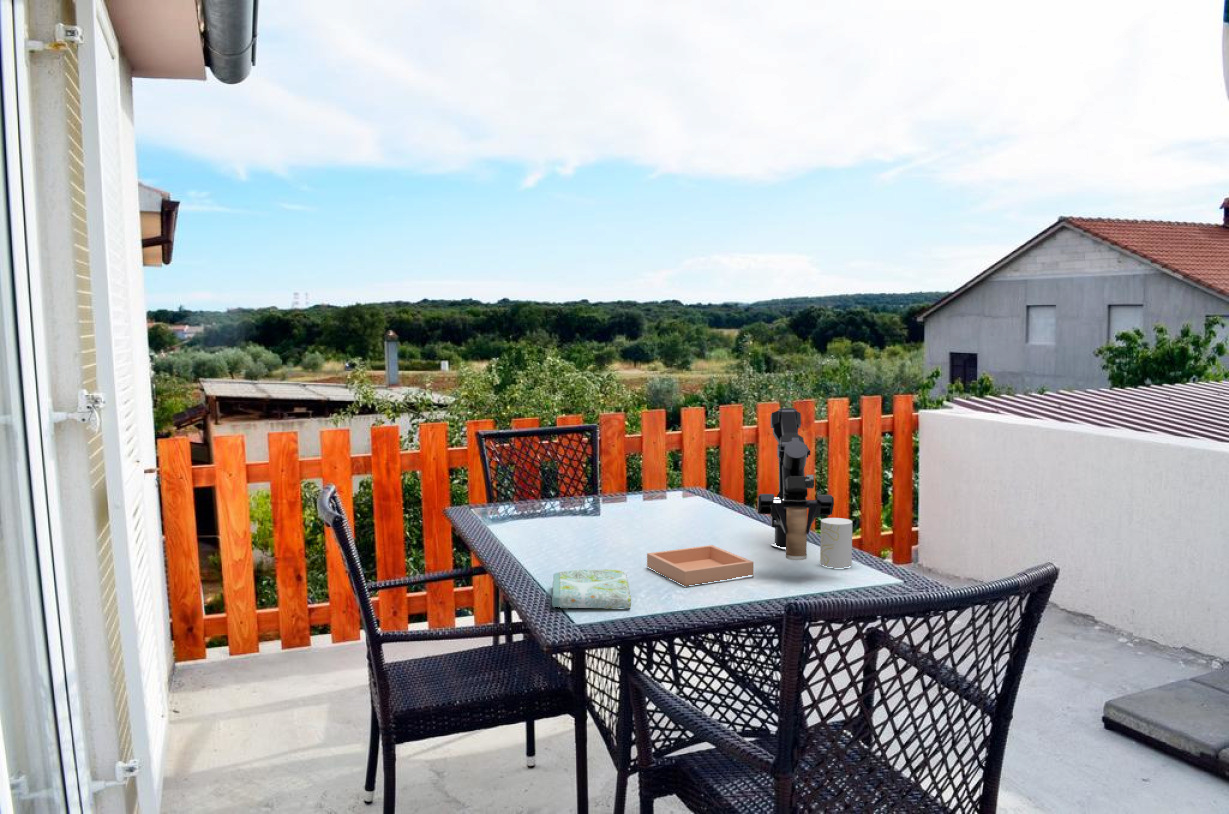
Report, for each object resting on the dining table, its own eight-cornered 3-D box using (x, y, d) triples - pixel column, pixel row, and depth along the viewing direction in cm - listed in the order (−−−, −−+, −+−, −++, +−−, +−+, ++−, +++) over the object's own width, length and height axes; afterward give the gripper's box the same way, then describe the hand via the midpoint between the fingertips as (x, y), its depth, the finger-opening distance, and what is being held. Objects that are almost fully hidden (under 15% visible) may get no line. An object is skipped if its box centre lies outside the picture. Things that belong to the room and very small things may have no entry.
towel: (627, 585, 232) (627, 565, 232) (631, 612, 211) (631, 590, 211) (554, 586, 232) (554, 566, 231) (550, 613, 211) (550, 591, 210)
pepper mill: (781, 556, 236) (781, 507, 234) (798, 554, 238) (798, 505, 237) (793, 561, 231) (794, 511, 230) (811, 558, 233) (811, 509, 232)
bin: (647, 568, 247) (647, 553, 247) (711, 559, 256) (712, 545, 255) (685, 587, 229) (685, 571, 229) (753, 577, 238) (753, 561, 237)
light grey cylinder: (814, 563, 251) (814, 519, 250) (840, 560, 254) (840, 516, 253) (831, 570, 244) (832, 525, 242) (857, 567, 246) (858, 522, 245)
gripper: (758, 462, 237) (760, 514, 227) (833, 463, 235) (838, 516, 225) (757, 487, 246) (758, 538, 236) (829, 488, 244) (834, 540, 234)
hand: (796, 533), depth 232 cm, fingers closed on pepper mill, 5 cm apart
